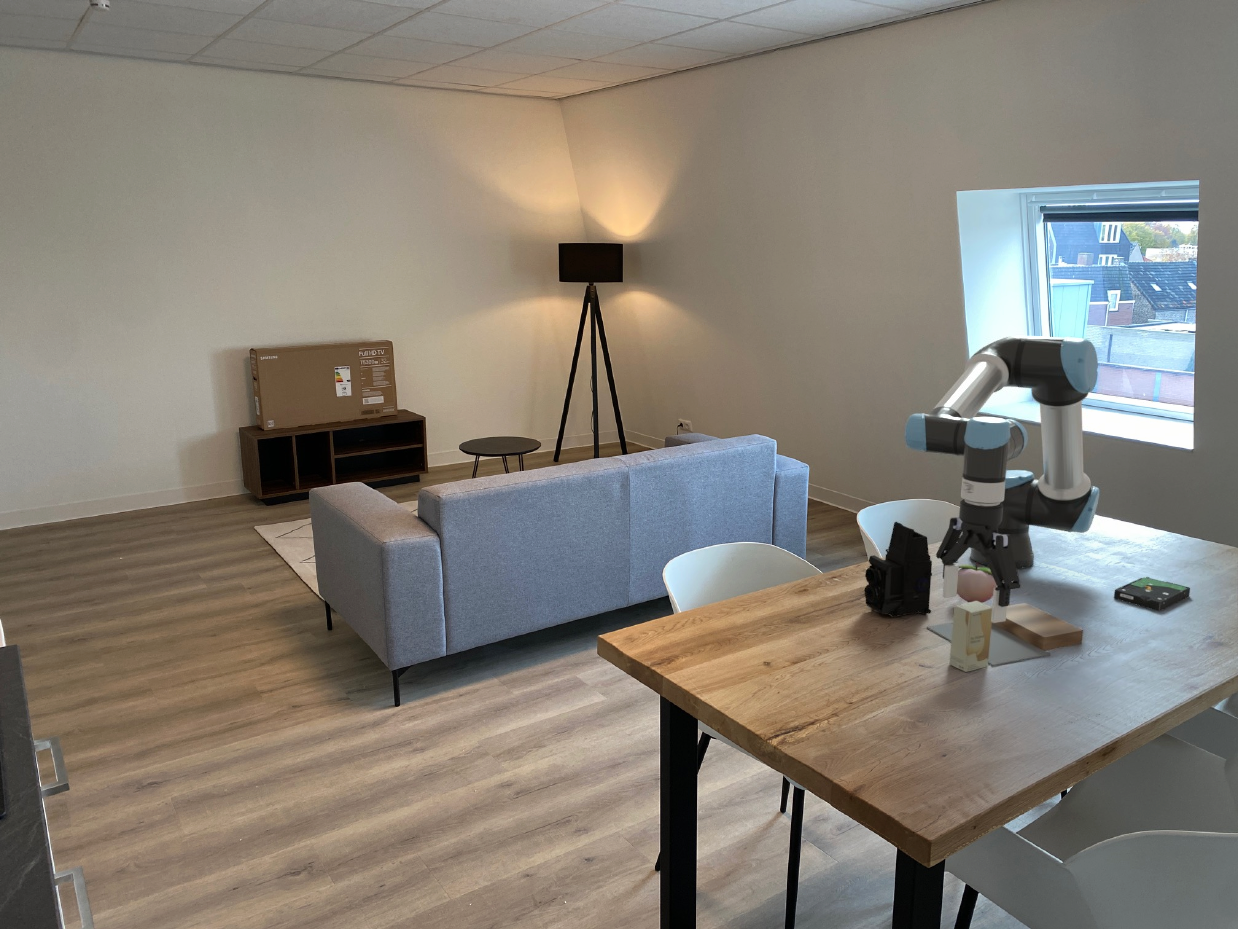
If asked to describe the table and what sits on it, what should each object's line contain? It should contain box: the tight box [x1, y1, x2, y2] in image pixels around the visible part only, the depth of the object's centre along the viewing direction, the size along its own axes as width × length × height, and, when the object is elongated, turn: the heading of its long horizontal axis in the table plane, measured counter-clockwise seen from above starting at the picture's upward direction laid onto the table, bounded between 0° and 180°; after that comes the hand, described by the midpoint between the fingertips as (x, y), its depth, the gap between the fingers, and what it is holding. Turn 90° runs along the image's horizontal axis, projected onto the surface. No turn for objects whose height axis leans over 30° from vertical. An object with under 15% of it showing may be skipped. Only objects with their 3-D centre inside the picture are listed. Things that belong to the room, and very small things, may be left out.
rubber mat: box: [926, 621, 1051, 667], centre depth 191 cm, size 20×14×1 cm
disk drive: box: [1113, 576, 1191, 612], centre depth 214 cm, size 10×3×15 cm
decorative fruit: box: [957, 562, 997, 603], centre depth 209 cm, size 9×8×10 cm
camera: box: [864, 521, 933, 618], centre depth 205 cm, size 10×14×20 cm
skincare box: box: [948, 601, 992, 673], centre depth 179 cm, size 6×4×12 cm
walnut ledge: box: [992, 602, 1084, 652], centre depth 195 cm, size 16×10×3 cm, turn 19°
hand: (972, 608), depth 178 cm, fingers open, 13 cm apart
